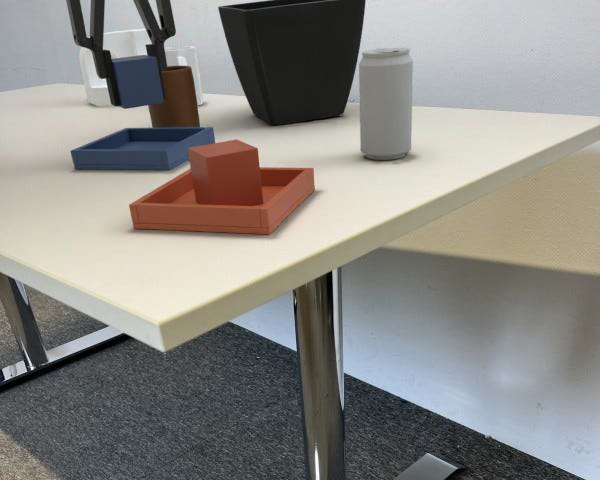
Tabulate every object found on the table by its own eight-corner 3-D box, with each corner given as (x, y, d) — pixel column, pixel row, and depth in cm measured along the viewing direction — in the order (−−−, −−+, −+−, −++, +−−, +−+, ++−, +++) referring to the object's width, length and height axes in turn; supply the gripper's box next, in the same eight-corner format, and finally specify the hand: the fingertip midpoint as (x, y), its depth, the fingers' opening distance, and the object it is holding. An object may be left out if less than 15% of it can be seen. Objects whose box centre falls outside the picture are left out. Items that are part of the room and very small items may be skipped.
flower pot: (257, 133, 101) (244, 6, 92) (229, 114, 116) (216, 4, 107) (369, 117, 105) (368, -6, 96) (328, 101, 120) (324, -6, 111)
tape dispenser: (158, 91, 147) (147, 28, 140) (175, 96, 139) (164, 29, 132) (88, 102, 141) (73, 36, 134) (101, 107, 133) (86, 37, 126)
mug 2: (157, 104, 131) (147, 49, 126) (198, 99, 134) (190, 45, 128) (170, 112, 122) (160, 53, 117) (214, 106, 124) (206, 48, 119)
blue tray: (74, 168, 89) (70, 150, 88) (129, 144, 100) (126, 127, 99) (169, 170, 85) (166, 150, 83) (215, 144, 96) (213, 126, 95)
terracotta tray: (133, 228, 65) (128, 204, 64) (196, 187, 77) (193, 166, 75) (269, 234, 61) (267, 209, 60) (315, 189, 72) (313, 167, 71)
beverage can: (381, 164, 80) (381, 53, 73) (350, 155, 84) (348, 51, 78) (421, 154, 82) (424, 47, 76) (389, 147, 87) (390, 45, 80)
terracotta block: (213, 214, 65) (205, 157, 62) (195, 201, 70) (187, 147, 67) (263, 203, 67) (258, 147, 64) (242, 191, 71) (236, 139, 68)
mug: (144, 129, 110) (132, 67, 105) (187, 123, 112) (178, 61, 107) (159, 141, 100) (147, 73, 95) (206, 134, 103) (197, 67, 97)
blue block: (114, 104, 90) (104, 59, 87) (152, 98, 92) (144, 54, 89) (124, 109, 86) (114, 62, 83) (164, 102, 88) (156, 57, 85)
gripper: (18, -117, 70) (75, 115, 83) (182, -122, 76) (211, 94, 89) (10, -108, 76) (64, 108, 88) (163, -113, 82) (193, 89, 95)
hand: (138, 101), depth 89 cm, fingers closed on blue block, 5 cm apart
